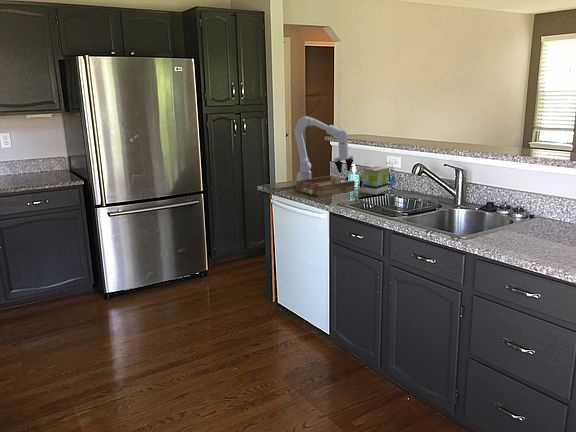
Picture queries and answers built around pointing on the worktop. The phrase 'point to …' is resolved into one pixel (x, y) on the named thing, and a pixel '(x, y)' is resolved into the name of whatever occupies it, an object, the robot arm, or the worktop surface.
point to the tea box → (375, 180)
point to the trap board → (324, 186)
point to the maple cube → (336, 180)
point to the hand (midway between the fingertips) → (344, 171)
